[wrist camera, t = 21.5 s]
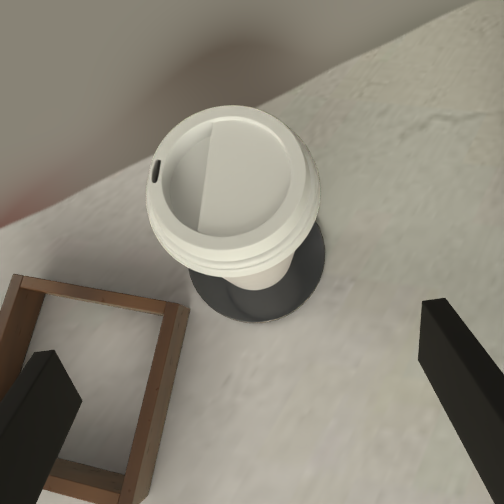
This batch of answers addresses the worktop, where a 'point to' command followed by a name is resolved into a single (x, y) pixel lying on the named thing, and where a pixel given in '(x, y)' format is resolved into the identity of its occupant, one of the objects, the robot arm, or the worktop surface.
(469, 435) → the robot arm
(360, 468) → the worktop surface
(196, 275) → the slate coaster
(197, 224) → the coffee cup
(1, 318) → the square wooden frame
